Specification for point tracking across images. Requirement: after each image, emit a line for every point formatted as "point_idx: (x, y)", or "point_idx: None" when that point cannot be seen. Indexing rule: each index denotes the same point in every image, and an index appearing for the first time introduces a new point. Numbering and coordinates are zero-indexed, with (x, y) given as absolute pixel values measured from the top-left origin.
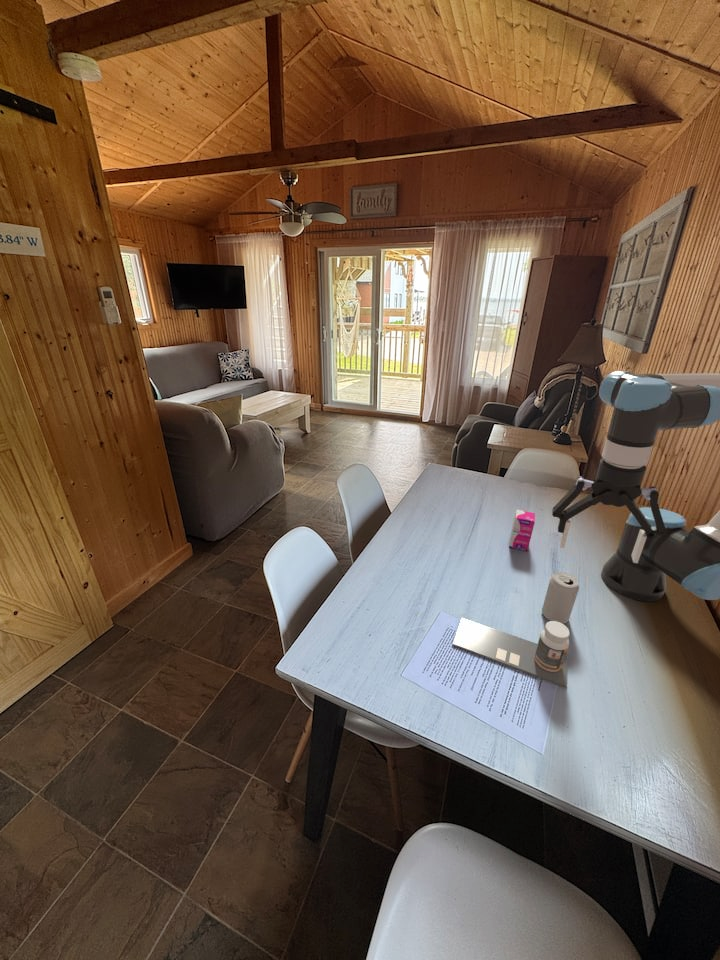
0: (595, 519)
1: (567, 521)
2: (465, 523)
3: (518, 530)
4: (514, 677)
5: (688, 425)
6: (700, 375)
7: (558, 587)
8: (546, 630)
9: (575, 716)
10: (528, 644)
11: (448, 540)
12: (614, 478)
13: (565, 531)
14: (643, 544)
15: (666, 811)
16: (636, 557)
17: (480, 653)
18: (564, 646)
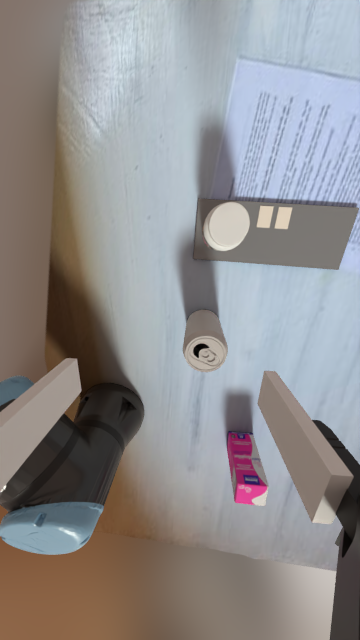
0: (144, 502)
1: (342, 485)
2: None
3: (253, 461)
4: (265, 186)
5: None
6: None
7: (216, 335)
8: (248, 215)
9: (190, 154)
10: (242, 255)
11: (341, 425)
12: None
13: (308, 423)
14: (6, 408)
15: (101, 52)
16: (60, 369)
17: (315, 206)
18: (213, 210)
